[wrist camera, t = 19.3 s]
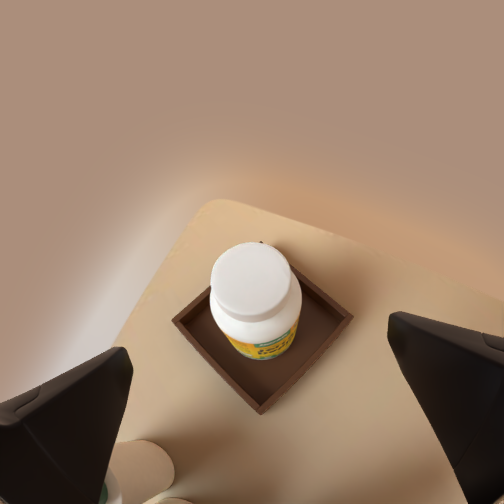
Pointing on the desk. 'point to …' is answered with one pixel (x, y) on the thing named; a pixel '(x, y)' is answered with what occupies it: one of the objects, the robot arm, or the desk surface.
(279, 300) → the supplement bottle
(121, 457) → the white bottle
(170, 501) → the white bottle
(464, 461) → the robot arm
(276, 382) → the tray
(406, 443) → the desk surface
